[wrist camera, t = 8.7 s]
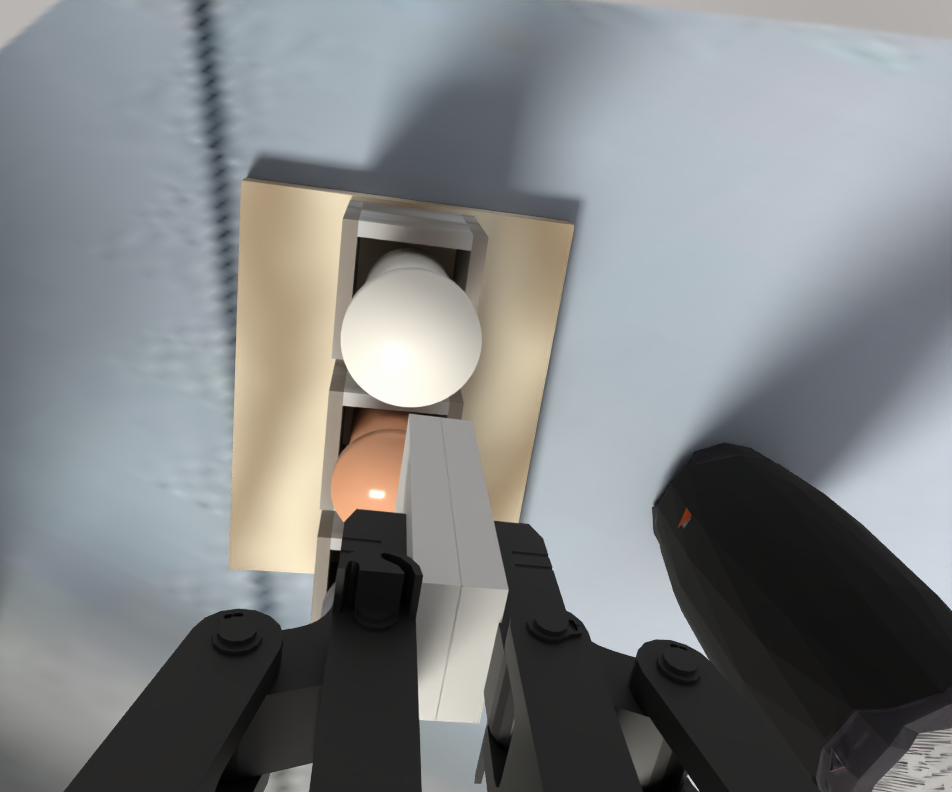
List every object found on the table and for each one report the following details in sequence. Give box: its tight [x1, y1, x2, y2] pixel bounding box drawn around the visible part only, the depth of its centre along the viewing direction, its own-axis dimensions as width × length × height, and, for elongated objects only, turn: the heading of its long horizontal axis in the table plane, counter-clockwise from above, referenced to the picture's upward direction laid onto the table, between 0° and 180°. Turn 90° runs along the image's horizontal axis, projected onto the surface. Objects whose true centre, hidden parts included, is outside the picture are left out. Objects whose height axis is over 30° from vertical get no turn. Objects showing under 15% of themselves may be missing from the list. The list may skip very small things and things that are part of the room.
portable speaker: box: [652, 443, 952, 792], centre depth 34 cm, size 9×9×20 cm
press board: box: [229, 178, 575, 624], centre depth 35 cm, size 15×20×7 cm
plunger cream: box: [341, 248, 482, 407], centre depth 28 cm, size 5×5×7 cm
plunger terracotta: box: [331, 407, 428, 522], centre depth 33 cm, size 5×5×7 cm
